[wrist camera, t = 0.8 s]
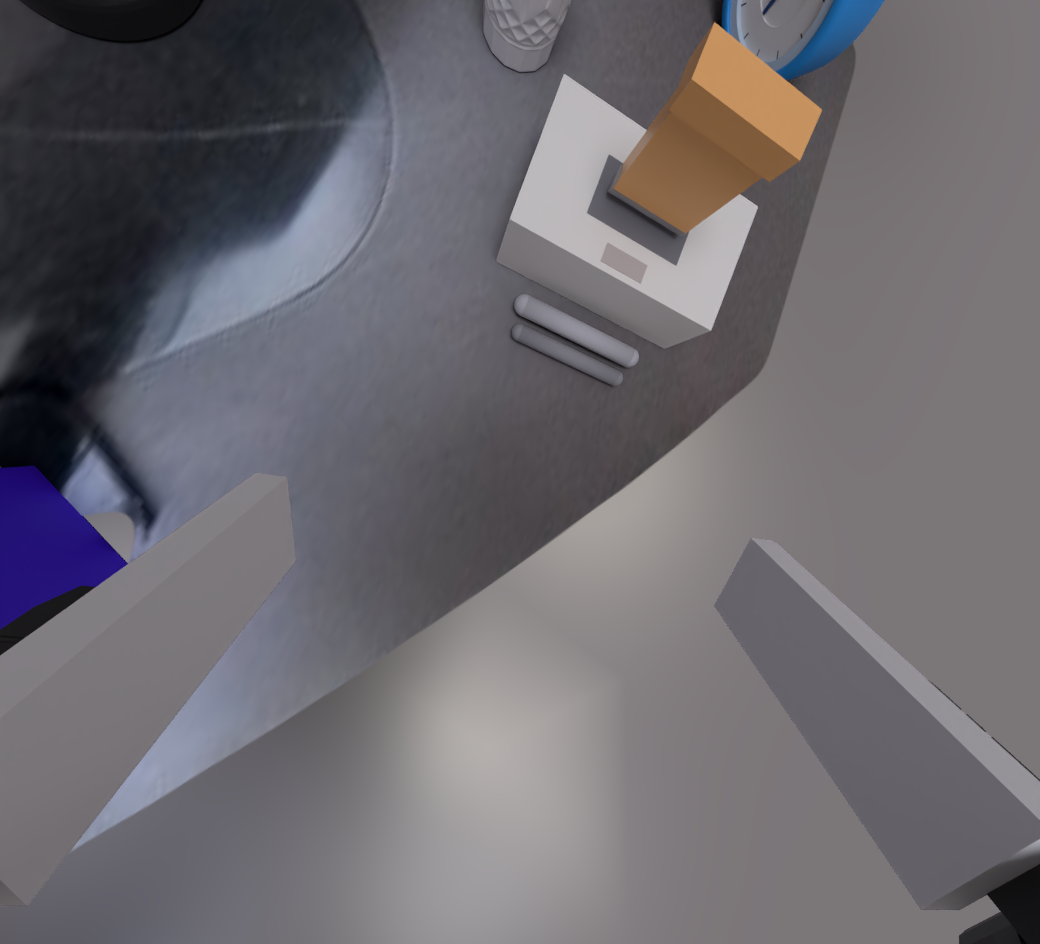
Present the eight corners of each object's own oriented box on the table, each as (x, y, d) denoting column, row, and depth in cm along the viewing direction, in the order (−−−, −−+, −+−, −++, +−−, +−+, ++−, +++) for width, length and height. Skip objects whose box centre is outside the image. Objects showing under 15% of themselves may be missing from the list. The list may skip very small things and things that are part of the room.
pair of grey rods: (620, 391, 39) (630, 389, 37) (501, 336, 36) (504, 330, 34) (635, 354, 39) (645, 350, 37) (516, 295, 36) (521, 286, 34)
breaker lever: (676, 247, 31) (799, 160, 20) (600, 201, 30) (691, 79, 19) (689, 215, 31) (822, 109, 20) (614, 166, 29) (714, 22, 18)
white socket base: (664, 349, 40) (711, 330, 33) (495, 261, 35) (509, 218, 28) (703, 246, 40) (759, 205, 33) (539, 144, 35) (564, 72, 28)
